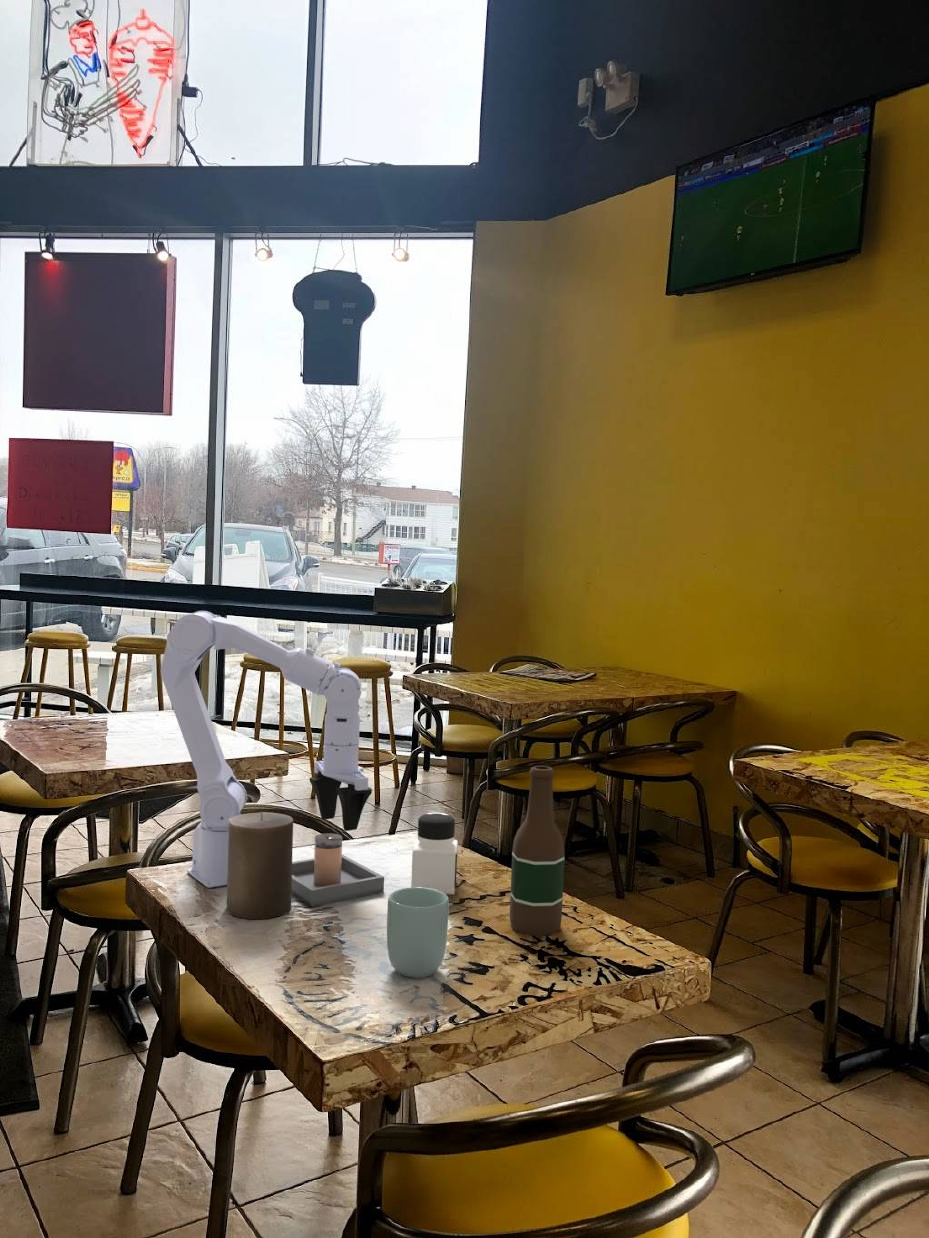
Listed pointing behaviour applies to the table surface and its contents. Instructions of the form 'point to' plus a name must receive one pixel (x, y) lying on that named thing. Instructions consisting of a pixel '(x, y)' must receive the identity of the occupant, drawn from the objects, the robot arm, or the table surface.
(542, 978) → the table surface
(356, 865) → the tray
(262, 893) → the pillar candle
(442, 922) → the cup
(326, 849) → the salt shaker
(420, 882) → the medicine bottle
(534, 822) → the beer bottle
